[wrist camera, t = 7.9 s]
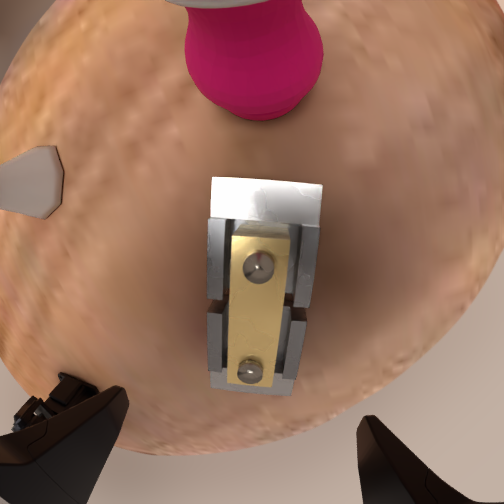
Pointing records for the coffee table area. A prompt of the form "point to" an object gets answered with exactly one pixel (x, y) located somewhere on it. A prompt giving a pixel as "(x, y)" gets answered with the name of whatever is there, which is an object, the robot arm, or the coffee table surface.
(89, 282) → the coffee table surface
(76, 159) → the coffee table surface
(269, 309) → the link bar
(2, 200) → the flask
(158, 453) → the coffee table surface
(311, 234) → the grey metal base
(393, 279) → the coffee table surface
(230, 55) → the pepper mill
